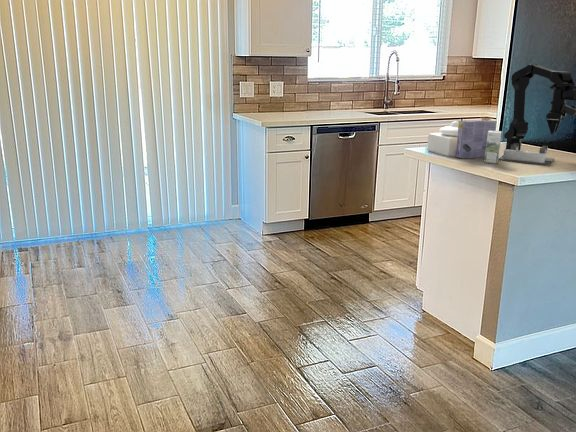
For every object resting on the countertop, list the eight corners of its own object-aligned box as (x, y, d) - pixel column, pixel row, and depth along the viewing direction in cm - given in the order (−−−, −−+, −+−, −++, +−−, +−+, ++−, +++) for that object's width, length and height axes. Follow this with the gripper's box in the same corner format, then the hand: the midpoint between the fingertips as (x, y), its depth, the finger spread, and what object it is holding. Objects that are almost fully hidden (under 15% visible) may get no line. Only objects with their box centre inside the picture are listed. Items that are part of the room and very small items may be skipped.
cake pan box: (488, 155, 273) (492, 119, 267) (494, 157, 268) (499, 120, 263) (454, 157, 267) (457, 120, 262) (460, 159, 263) (463, 121, 258)
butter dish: (448, 156, 269) (451, 123, 265) (426, 150, 285) (428, 119, 281) (477, 154, 276) (480, 122, 271) (454, 148, 292) (457, 118, 287)
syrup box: (498, 162, 257) (502, 130, 253) (497, 164, 252) (501, 132, 247) (485, 160, 259) (489, 129, 255) (484, 163, 254) (487, 131, 250)
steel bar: (503, 158, 261) (504, 150, 260) (505, 157, 264) (506, 149, 263) (544, 163, 252) (545, 154, 251) (545, 161, 255) (546, 153, 254)
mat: (497, 160, 261) (497, 158, 261) (501, 157, 267) (501, 156, 267) (548, 165, 250) (548, 164, 250) (550, 163, 255) (550, 161, 255)
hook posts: (501, 157, 268) (503, 144, 266) (505, 155, 274) (507, 142, 272) (550, 162, 256) (553, 149, 254) (553, 160, 263) (555, 146, 261)
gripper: (575, 101, 245) (569, 136, 250) (580, 99, 260) (575, 132, 265) (548, 100, 251) (543, 134, 256) (554, 97, 266) (549, 130, 271)
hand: (553, 132), depth 262 cm, fingers open, 9 cm apart
